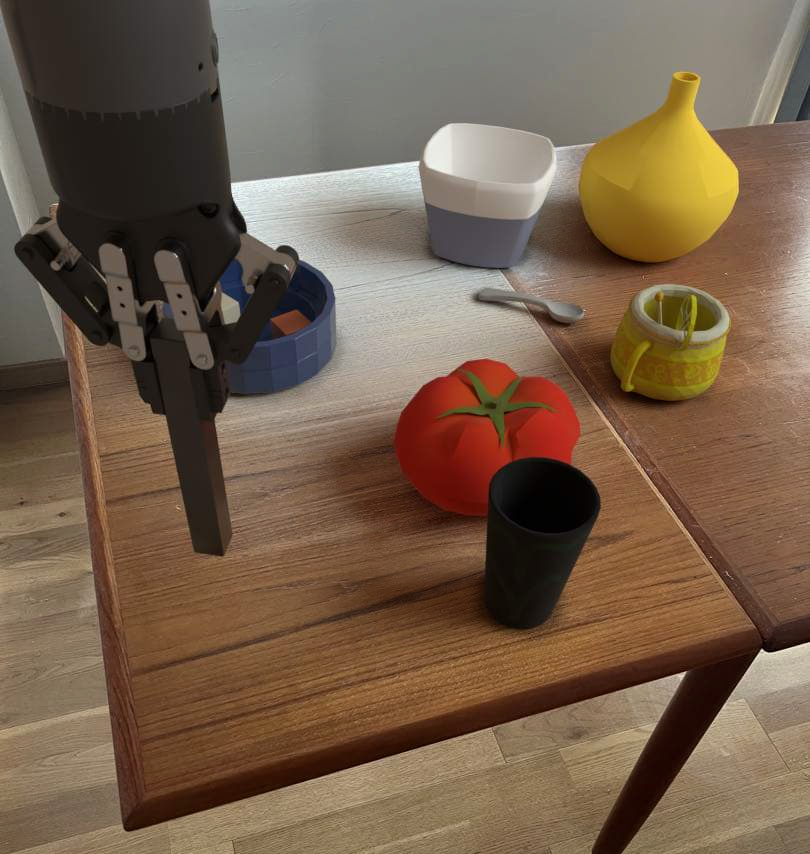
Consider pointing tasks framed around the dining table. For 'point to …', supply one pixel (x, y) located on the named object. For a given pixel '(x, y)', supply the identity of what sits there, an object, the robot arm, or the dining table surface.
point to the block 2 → (288, 324)
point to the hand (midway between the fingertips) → (189, 407)
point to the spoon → (556, 309)
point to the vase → (659, 182)
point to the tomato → (480, 431)
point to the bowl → (484, 191)
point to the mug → (670, 342)
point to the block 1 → (230, 309)
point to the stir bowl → (288, 355)
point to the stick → (191, 444)
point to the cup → (534, 537)
